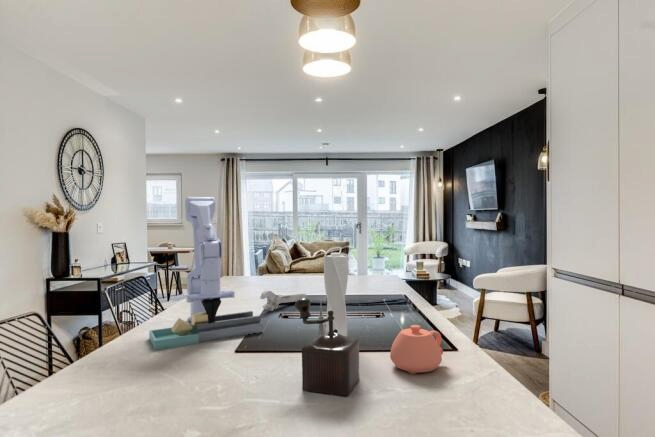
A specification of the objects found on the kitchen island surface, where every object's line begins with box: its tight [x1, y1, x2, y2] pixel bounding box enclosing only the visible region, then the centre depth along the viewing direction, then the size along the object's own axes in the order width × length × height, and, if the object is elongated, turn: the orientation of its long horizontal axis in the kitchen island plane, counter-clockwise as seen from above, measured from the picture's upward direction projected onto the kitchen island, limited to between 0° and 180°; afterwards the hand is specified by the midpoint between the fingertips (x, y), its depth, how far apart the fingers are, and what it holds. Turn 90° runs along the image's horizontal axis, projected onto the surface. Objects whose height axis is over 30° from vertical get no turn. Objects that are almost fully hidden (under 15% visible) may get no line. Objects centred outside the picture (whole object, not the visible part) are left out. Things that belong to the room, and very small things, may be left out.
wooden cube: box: [192, 312, 208, 329], centre depth 129 cm, size 4×4×4 cm
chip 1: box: [170, 317, 193, 336], centre depth 126 cm, size 4×4×4 cm
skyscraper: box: [317, 246, 349, 337], centre depth 123 cm, size 8×8×28 cm
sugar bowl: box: [389, 324, 444, 375], centre depth 102 cm, size 12×14×10 cm
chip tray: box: [148, 327, 200, 351], centre depth 125 cm, size 12×12×2 cm
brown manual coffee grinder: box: [294, 297, 360, 398], centre depth 93 cm, size 16×11×18 cm
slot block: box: [189, 310, 264, 344], centre depth 133 cm, size 12×20×5 cm, turn 120°
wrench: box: [259, 290, 307, 312], centre depth 170 cm, size 8×2×30 cm
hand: (211, 322), depth 131 cm, fingers closed
